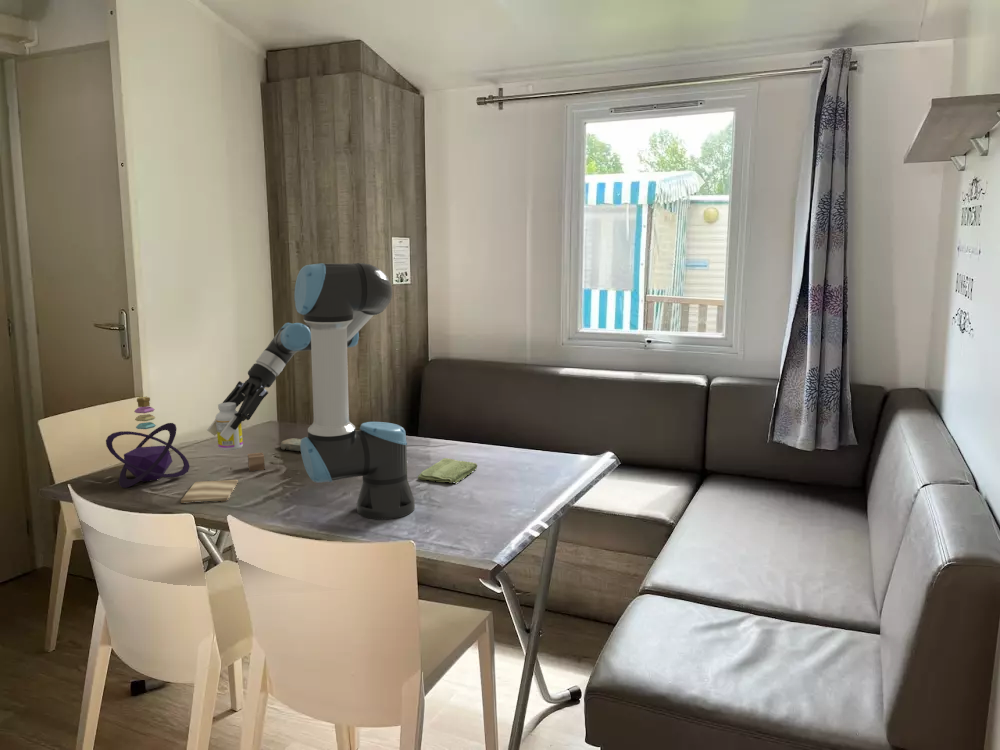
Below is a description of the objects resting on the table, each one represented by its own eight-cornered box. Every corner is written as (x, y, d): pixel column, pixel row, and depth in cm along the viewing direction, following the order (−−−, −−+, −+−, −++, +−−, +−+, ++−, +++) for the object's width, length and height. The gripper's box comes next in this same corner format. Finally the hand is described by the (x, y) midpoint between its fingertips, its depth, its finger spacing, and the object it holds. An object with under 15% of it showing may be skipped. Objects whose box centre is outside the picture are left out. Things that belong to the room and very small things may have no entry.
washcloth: (415, 481, 219) (415, 471, 218) (443, 465, 235) (443, 455, 234) (454, 487, 214) (454, 476, 213) (480, 470, 230) (480, 460, 229)
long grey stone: (291, 447, 261) (275, 456, 252) (289, 433, 260) (273, 442, 251) (380, 450, 250) (366, 459, 241) (378, 435, 249) (365, 444, 240)
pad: (227, 501, 202) (227, 497, 202) (181, 503, 200) (180, 500, 200) (238, 482, 217) (238, 479, 217) (195, 485, 215) (195, 481, 215)
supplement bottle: (235, 443, 214) (232, 400, 211) (247, 447, 209) (244, 403, 207) (213, 448, 209) (210, 404, 206) (225, 452, 204) (222, 407, 202)
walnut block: (264, 469, 230) (264, 456, 229) (249, 471, 228) (248, 457, 228) (263, 466, 234) (262, 452, 234) (248, 467, 233) (247, 454, 232)
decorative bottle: (100, 478, 222) (92, 397, 218) (171, 463, 237) (164, 387, 233) (127, 495, 207) (118, 408, 202) (200, 478, 221) (194, 397, 217)
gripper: (293, 381, 210) (244, 449, 202) (257, 373, 223) (210, 436, 215) (275, 366, 205) (224, 434, 197) (240, 358, 218) (191, 422, 210)
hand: (217, 435), depth 206 cm, fingers closed on supplement bottle, 7 cm apart
